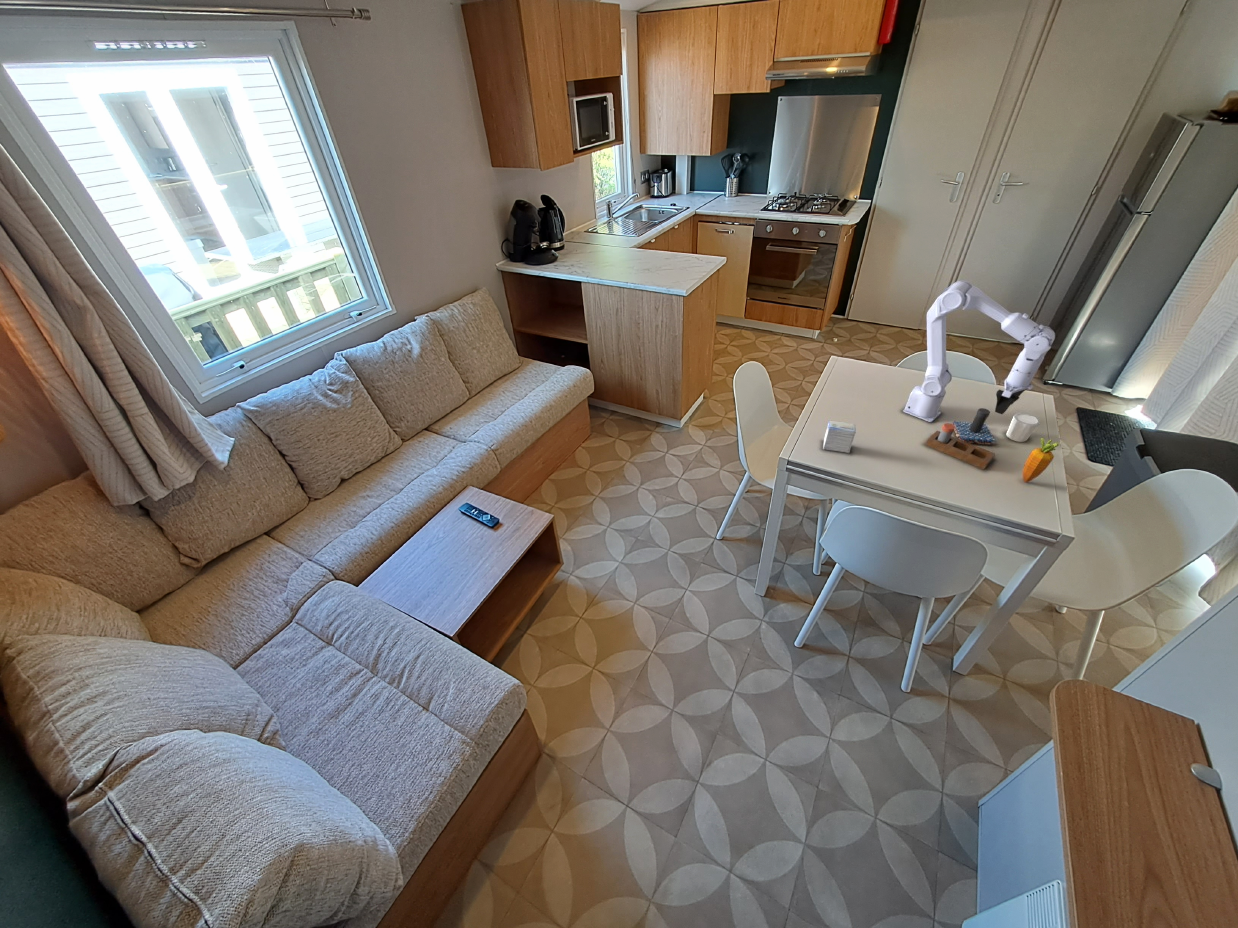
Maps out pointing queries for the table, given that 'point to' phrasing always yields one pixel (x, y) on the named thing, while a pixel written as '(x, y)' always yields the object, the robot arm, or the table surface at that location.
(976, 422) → the cylinder
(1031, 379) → the robot arm
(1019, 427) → the white cylinder
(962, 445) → the marker stand
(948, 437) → the grey marker
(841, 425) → the medicine box
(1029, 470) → the carrot
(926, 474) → the table surface
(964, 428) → the woven mat
